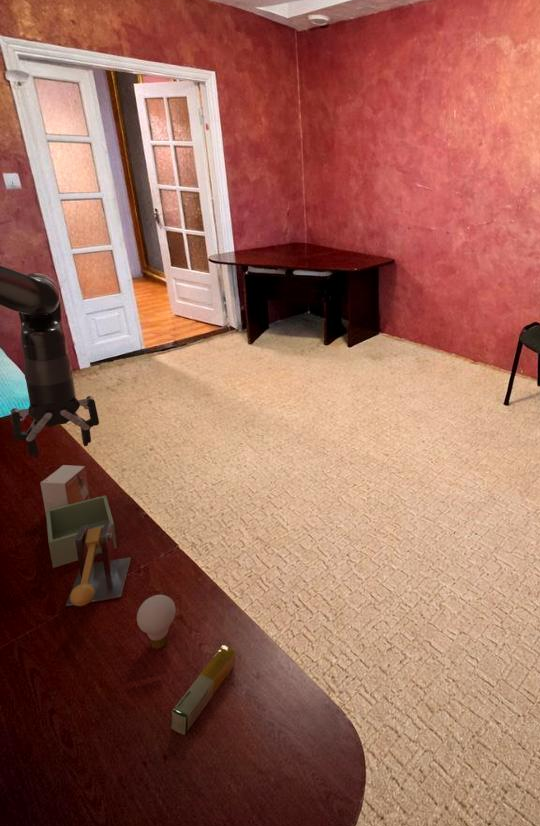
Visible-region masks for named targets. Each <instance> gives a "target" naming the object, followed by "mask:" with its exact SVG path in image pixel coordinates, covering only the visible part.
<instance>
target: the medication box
mask: <svg viewBox="0 0 540 826" xmlns="http://www.w3.org/2000/svg"><path fill="white" fill-rule="evenodd" d="M235 661H236V649H235V648H233V647H230V645H229V646H228V645H226V644H222V645H220V648H219V649H218V650H217V652H215V654H214V655H213V657H212V658H211V659H210V661H209V662H208V663H207V664H206V666H205V667H204V668H203V670H201V672H200V673H199V675H198V676H197V677H196V679H195V680H194V681H193V683H192V684H191V685H190V687H189V688H188V689H187V690H186V692H185V693H184V695H182V697H181V698H180V699H179V701H178V702H177V704H175V706H174V708H173V709H172V710H171V720H170V721H171V727H170V728H171V730H172V731H174V733H177V735H178V734H179V735H182V736H186V734H187V732H188V731H189V730H190V728H191V727H192V725H193V724H194V723H195V722H196V720H197V719H198V717H199V716H200V715H201V713H202V712H203V710H204V709H205V707H206V706H207V705H208V703H209V702H210V700H211V699H212V697H213V696H214V695H215V693H217V690H218V689H220V688H219V687H220V686H221V685H222V684H223V682H224V681H225V680H226V678H227V677H228V675H229V674H230V672H231V671H232V669H233V668H234V666H235Z"/></svg>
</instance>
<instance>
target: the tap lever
mask: <svg viewBox="0 0 540 826" xmlns="http://www.w3.org/2000/svg"><path fill="white" fill-rule="evenodd" d="M101 532H102V529H101V528H96V529H88V532H87V537H86V541H85V543H86V546H87V549H88V552H87V557H86V561H85V566H84V570H83V575H82V579H81V584H80V585H78V586H76V587H75V588H74V589H73V590H72V589H71V591H72V592H71V591H70V593H71V594H70V593H69V596H70V601H71V603H72V604H73V605H75V606H77V607H83V606H87V605H86V604H88V603H89V602H90V601H91V600H92V599H93V597H94V594H95V591H94V588H93V586H92V585H90V584H89V581H90V577H91V572H92V567H93V563H95V562H94V561H95V558H96V555H95V553H96V548H101V542H100V535H101ZM88 605H89V604H88Z"/></svg>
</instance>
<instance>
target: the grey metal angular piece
mask: <svg viewBox="0 0 540 826" xmlns="http://www.w3.org/2000/svg"><path fill="white" fill-rule="evenodd" d="M87 532H88V527H87V525H81V527H80V530H79V532H78V534H77V537H76V539H75V544H76V550H77V556H78V560H77V562H78V563H77V564H78V569H79V570H78V573H77V575H76V578H75V580H74V583H73V586H72V589H71V591H70V593H69V596H68V598H67V601H66V604H65V609H70V608H76V607H78V606H75V605H73V604H72V603H71V601H70V594H71V592H72V590H73V589H74V588H75V587H76V586H78V585H80V584H81V579H82V575H83V570H84V566H85V561H86V557H87V552H88V549H87V546H86V543H85V541H86V537H87ZM100 542H101V549H102V553H101V556H102V561H97V562H93V567H92V572H91V577H90V581H89V584H90V585H92V586H93V588H94V591H95V594H94V597H93V599H92V600H91V601H90V602H89V603H88V604H86V605H85V606H87V605H94V604H100V603H106V602H110V601H111V602H112V601H117V600H122V597H123V594H124V589H125V585H126V581H127V577H128V575H129V570H130V567H131V563H132V557H124V558H116V551H115V549H114V543H113V532H112V527H111V522H105V524H104V527H103V530H102V532H101V535H100Z"/></svg>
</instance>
